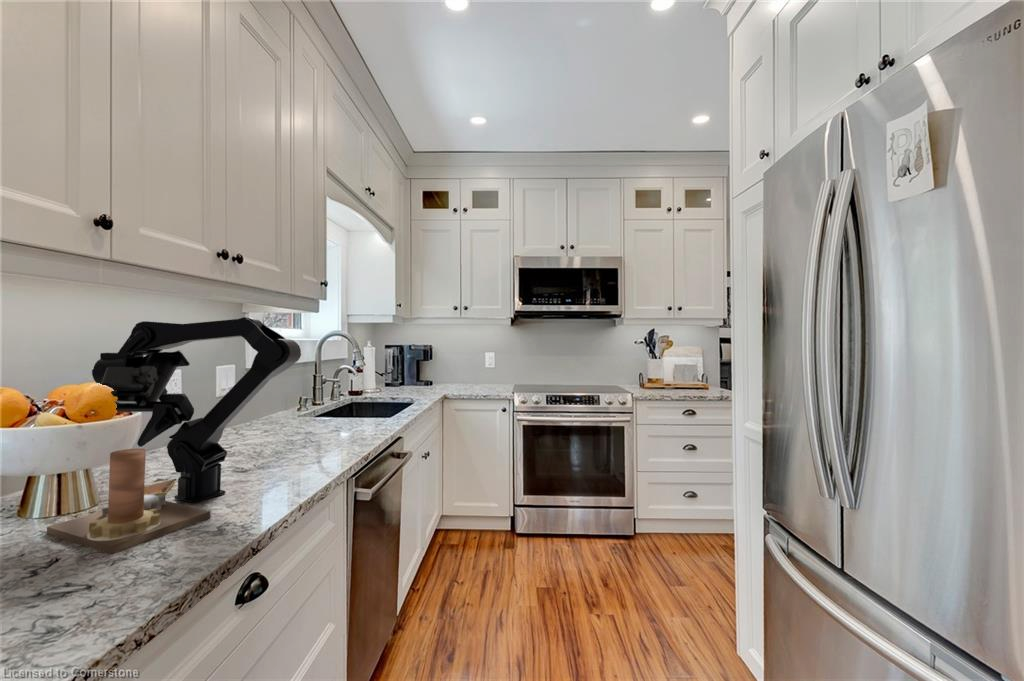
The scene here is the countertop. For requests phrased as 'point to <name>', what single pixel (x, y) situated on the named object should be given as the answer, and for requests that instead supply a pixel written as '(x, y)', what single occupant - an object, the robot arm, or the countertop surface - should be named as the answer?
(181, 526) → the gear board
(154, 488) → the shard
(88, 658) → the countertop surface
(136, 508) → the gear spindle
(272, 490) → the countertop surface
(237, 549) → the countertop surface
